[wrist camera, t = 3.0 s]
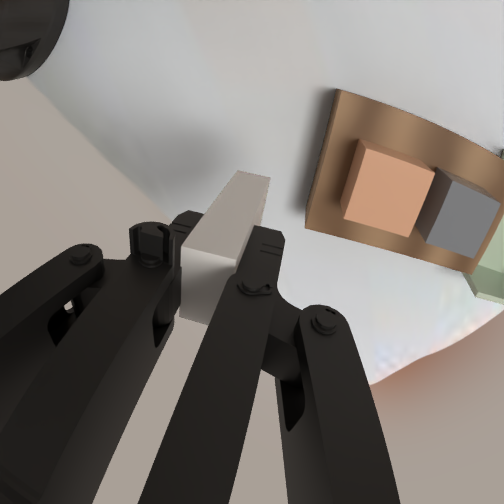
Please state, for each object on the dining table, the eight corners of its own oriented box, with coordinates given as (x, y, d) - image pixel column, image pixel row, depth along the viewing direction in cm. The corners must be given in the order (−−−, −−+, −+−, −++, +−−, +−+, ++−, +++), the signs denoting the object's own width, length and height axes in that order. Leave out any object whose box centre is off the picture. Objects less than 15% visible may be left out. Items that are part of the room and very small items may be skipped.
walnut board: (305, 207, 27) (304, 228, 24) (336, 88, 21) (341, 90, 17) (457, 252, 26) (471, 274, 23) (499, 157, 20) (521, 171, 17)
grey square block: (414, 223, 22) (425, 242, 19) (437, 166, 19) (452, 180, 16) (460, 239, 21) (473, 258, 19) (483, 187, 18) (501, 203, 16)
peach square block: (340, 200, 22) (343, 218, 19) (359, 138, 19) (366, 148, 17) (398, 218, 22) (408, 237, 19) (420, 160, 19) (435, 173, 16)
